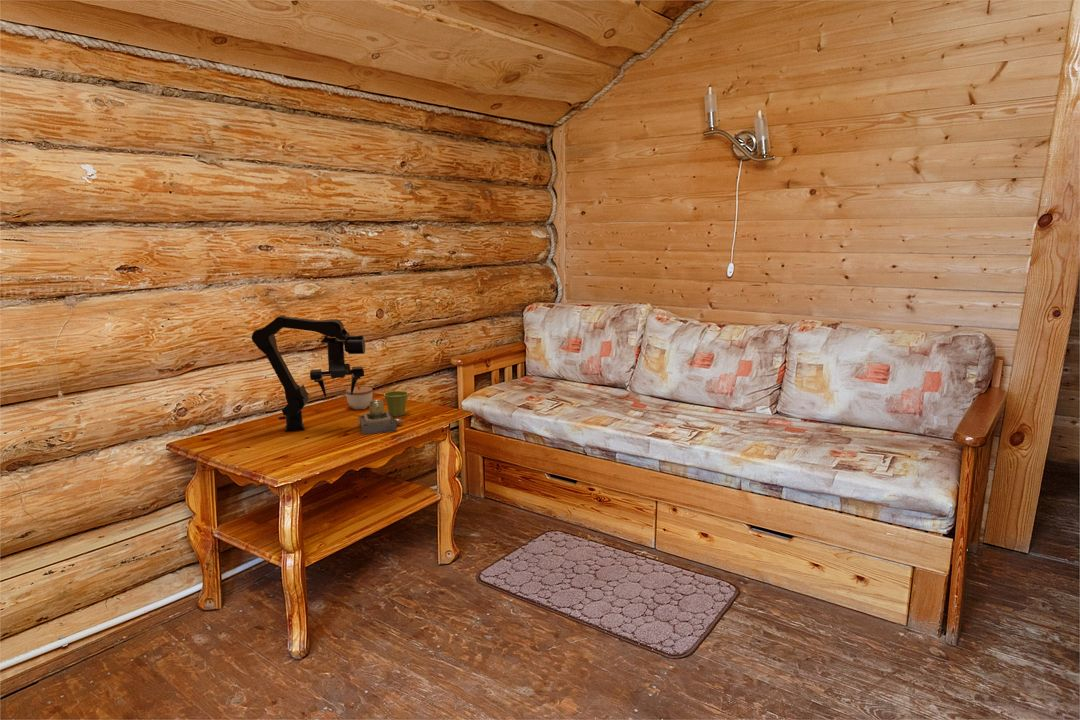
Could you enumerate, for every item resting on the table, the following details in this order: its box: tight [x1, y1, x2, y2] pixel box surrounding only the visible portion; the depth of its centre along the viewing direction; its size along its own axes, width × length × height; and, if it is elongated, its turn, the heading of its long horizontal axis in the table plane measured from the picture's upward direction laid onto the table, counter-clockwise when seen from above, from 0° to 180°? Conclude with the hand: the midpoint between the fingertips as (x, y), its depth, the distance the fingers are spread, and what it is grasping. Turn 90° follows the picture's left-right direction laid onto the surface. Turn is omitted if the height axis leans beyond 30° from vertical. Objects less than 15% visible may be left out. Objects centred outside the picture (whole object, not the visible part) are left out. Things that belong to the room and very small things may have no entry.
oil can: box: [369, 398, 385, 419], centre depth 236 cm, size 7×5×8 cm
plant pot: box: [383, 390, 409, 417], centre depth 254 cm, size 9×9×9 cm
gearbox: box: [358, 411, 403, 436], centre depth 238 cm, size 14×15×4 cm
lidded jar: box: [345, 384, 374, 410], centre depth 265 cm, size 11×11×9 cm
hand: (338, 395), depth 236 cm, fingers open, 9 cm apart
